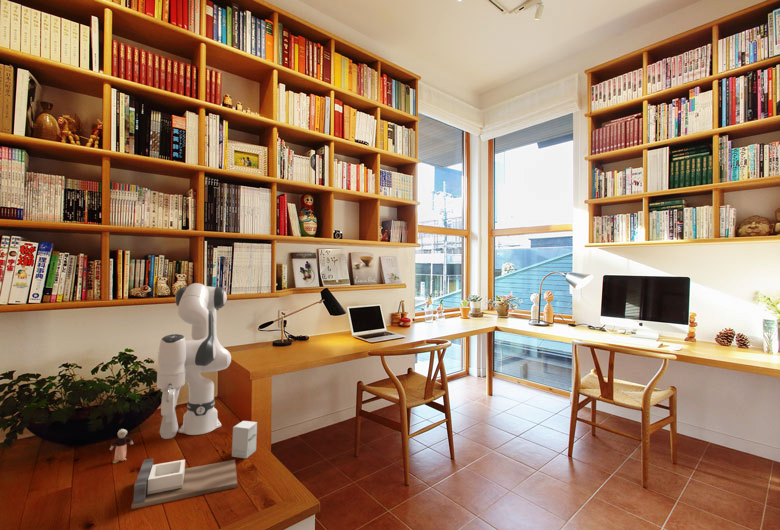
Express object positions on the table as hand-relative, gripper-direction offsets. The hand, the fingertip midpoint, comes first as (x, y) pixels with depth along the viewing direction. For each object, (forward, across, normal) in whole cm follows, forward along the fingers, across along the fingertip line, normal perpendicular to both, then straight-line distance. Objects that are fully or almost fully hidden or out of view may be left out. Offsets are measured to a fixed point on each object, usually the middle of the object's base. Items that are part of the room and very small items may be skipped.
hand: (169, 418), depth 132 cm
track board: (+25, 0, -7) cm, 26 cm away
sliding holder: (+23, 0, 0) cm, 23 cm away
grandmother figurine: (+25, +29, +19) cm, 43 cm away
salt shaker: (+6, 0, 0) cm, 6 cm away
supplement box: (+25, +16, -27) cm, 40 cm away
